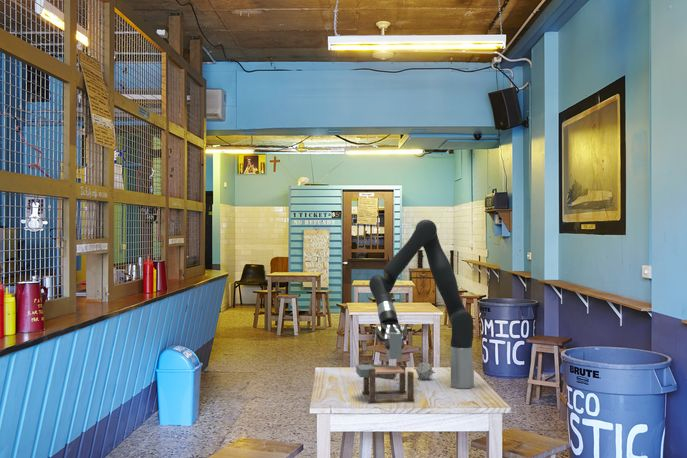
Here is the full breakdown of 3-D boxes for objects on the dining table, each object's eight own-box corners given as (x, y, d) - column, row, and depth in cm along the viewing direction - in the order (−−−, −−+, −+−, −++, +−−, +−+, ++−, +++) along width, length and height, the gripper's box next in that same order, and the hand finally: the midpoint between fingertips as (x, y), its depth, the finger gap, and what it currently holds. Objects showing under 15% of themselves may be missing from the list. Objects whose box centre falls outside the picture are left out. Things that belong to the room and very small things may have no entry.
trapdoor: (399, 370, 252) (399, 363, 252) (405, 376, 241) (405, 368, 241) (356, 372, 249) (356, 364, 249) (360, 377, 239) (360, 369, 239)
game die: (428, 387, 280) (441, 369, 280) (421, 383, 274) (434, 366, 273) (414, 375, 286) (427, 358, 286) (407, 371, 279) (420, 354, 279)
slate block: (398, 356, 250) (398, 332, 251) (401, 358, 246) (401, 333, 246) (386, 356, 249) (386, 332, 250) (389, 359, 245) (389, 334, 245)
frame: (404, 392, 254) (404, 361, 255) (414, 401, 239) (414, 368, 239) (362, 393, 252) (362, 362, 252) (369, 403, 237) (369, 369, 237)
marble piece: (393, 380, 279) (393, 371, 279) (361, 378, 282) (361, 369, 283) (398, 372, 295) (398, 364, 295) (368, 371, 299) (368, 362, 299)
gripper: (372, 309, 254) (379, 343, 242) (405, 308, 257) (414, 342, 245) (369, 320, 259) (376, 354, 247) (401, 319, 262) (410, 353, 250)
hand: (395, 348), depth 246 cm, fingers closed on slate block, 5 cm apart
